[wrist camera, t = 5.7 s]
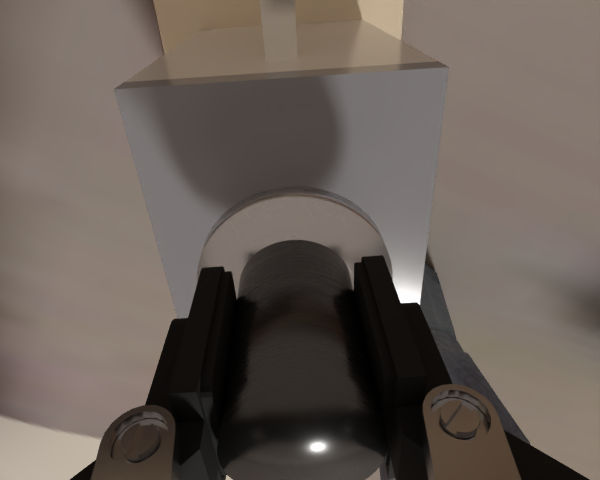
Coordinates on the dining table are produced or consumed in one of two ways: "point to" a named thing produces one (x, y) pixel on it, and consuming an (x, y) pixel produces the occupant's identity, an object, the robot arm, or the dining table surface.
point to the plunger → (297, 338)
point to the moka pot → (456, 353)
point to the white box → (284, 121)
